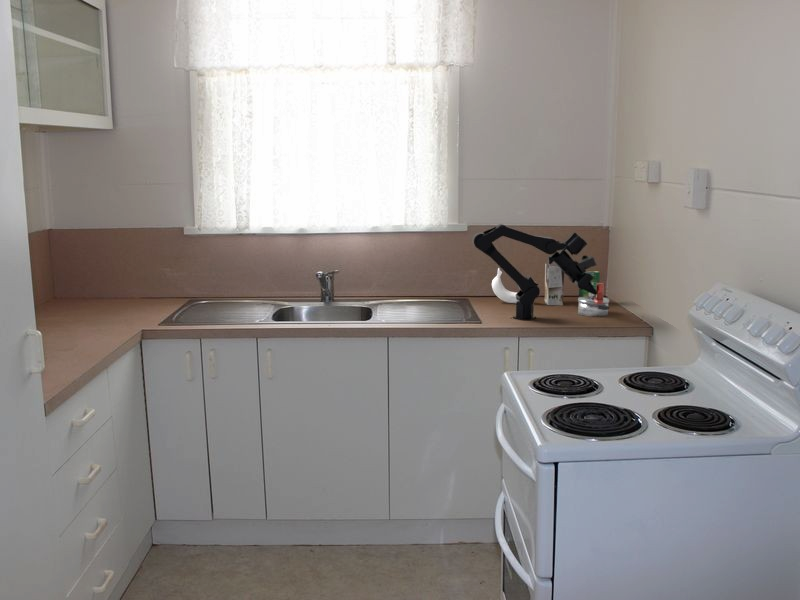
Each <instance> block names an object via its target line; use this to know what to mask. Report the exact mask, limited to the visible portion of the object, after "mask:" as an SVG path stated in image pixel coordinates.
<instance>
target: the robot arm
mask: <svg viewBox="0 0 800 600" xmlns="http://www.w3.org/2000/svg"><path fill="white" fill-rule="evenodd" d="M503 237H505V238H508V239H512V240H513V241H517V242H520V243H522V244H523V243H524V244H527V245H529V246H532V247H533V248H536V249H538V250H540V251H541V252H543V253H545V254H547V255H551V256H547V262H546V263H548V264H551V263H555V264H556V265H557V266H558V267H559V268H560V269H561V270H562V271H563V272H564V275H566V276H567V278H568V280H569V281H570V282H571V283H572V284H574V283H575V286H576V287H577V288H578V289H579V288H580V289H583V290H585V291H587V292H589V293H592V294H594V295H596V294H597V292H596V290H595V289H594V287H593V285H592V284H591V282H590V281H591V280H592V279H593V278H594V277H593V276H592V275H591V274H590V273H585V272H587V269H589V268H592V267H595V266H597V265H598V264H597V262H596V260H595V257H594V256H592V255H589V256H587V255H586V254H584V255H581V258H580V260H579V261H576V260H575V259H574V258H573V257H572V256H573V255H575V256H578V254H579V253H581V251H583V250H584V248H586V247H587V246H588V243H587V241H586V240H584V238H582V237H581V236H580V235H578V234H577V232H575V231H573V232H572V233H571V234H570V235H569V237H567V238H566V239H565V240H564V241H560V240H559V241H558V240H556V239H554V238H552V237H551V236H544V235H535V234H530V233H528V232H524V231H523V230H518V229H516V228H512V227H509V226H507V225H505V224H503V223H500V224H497V225H496V226H494V227H491V228H490V229H487V230H485V231H478V232H475V233H474V234H473V235H472V238H471V242H472V245H473V246H474V247H475V248H476V249H478V250H479V251H480V252H482V253H484V255H486V256H488V257H490V259H491V260H493V261H494V262H495V264H497V266H499V268H500V269H502V270H503V272H505V273H506V274H507V275H508V276H509V277H510V278H511V280H513V281H514V283H515V284H516V285H517V288H518V289H519V291H518V292H516V293H517V294H516V295H515V296H516V299H517V300H518V301H517V302H516V303H515V305H516V306H515V315H513V316H512V318H513V319H515V320H523V321H529V320H534V319H537V316H534V311H535V310H534V303H535V300H536V299H537V298H538V297H539V296H540V292H541V291H540V290H541V289H540V287H539V283H537V282H536V281H535V280H533V279H534V278H532V277H531V276H530V275H529V274H527V275H526V276H524V275H523V274H521V272H520V271H518V269H517V268H516V267H514V265H513V264H511V262H510V261H509V260H508V259H507V258H506V257H504V255H503V254H502V253H501V252H500V251H498V249H497V248H496V246H495V245H494V244H493V242H495V241H497V240H498V239H500V238H503ZM583 273H584V274H583ZM533 318H534V319H533Z"/></svg>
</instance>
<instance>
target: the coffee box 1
mask: <svg viewBox="0 0 800 600" xmlns="http://www.w3.org/2000/svg"><path fill="white" fill-rule="evenodd" d="M544 266H545V267H544V303H545V304H546V305H548V306H563V305H564V289H565V288H564V287H565V286H564V285H565V284H564V282H565V273H564V272H563V271H562V270H561V269H560V268H559V267H558V266H557V265H556V264H555V263H554V262H552V263H551V264H548V263H547V262H545V265H544Z"/></svg>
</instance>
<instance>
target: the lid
mask: <svg viewBox="0 0 800 600" xmlns="http://www.w3.org/2000/svg"><path fill="white" fill-rule="evenodd" d="M604 285H605V284H604V283H603V282H599V283H597V285H596V292H597V294H596V296H587V297H579V296H578V298H577V302H578V303H579V302H581V303H586V304H606V303H608V304H609V303H610V299H609V298H608V297H604V289H605V287H604Z"/></svg>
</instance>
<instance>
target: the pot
mask: <svg viewBox="0 0 800 600" xmlns="http://www.w3.org/2000/svg"><path fill="white" fill-rule="evenodd" d="M609 310H610V306H609V303H606V304H586V303H581V302H578V310H577V313H578V315H580V316H585V317H592V316H595V317H598V318H599V316H600V317H605V316H606V317H607V316H608V315H609V314H608V313H609Z"/></svg>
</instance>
